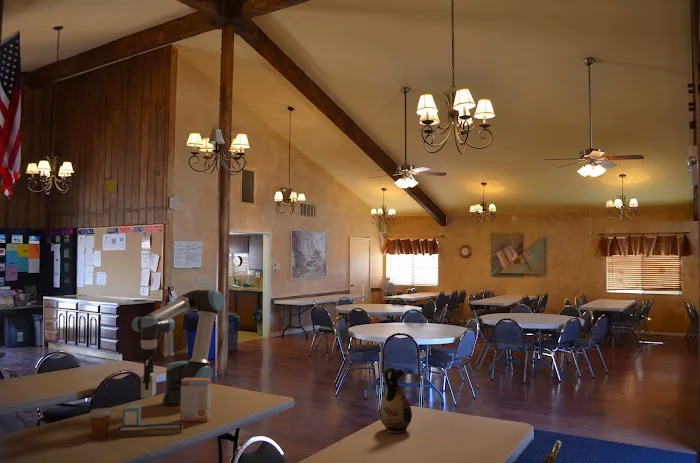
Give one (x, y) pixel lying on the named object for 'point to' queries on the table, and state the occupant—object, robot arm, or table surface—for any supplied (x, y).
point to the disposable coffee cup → (100, 422)
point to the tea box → (131, 415)
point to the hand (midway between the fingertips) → (148, 393)
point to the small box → (152, 385)
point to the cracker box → (195, 399)
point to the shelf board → (150, 429)
